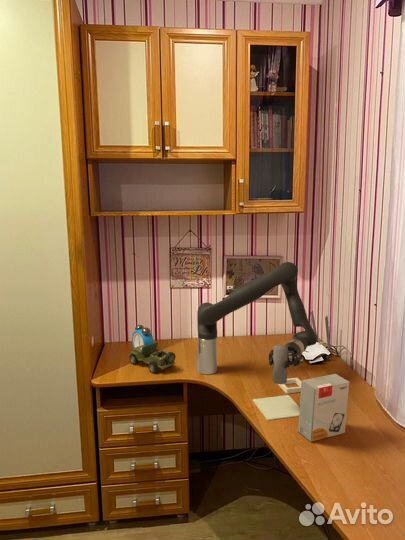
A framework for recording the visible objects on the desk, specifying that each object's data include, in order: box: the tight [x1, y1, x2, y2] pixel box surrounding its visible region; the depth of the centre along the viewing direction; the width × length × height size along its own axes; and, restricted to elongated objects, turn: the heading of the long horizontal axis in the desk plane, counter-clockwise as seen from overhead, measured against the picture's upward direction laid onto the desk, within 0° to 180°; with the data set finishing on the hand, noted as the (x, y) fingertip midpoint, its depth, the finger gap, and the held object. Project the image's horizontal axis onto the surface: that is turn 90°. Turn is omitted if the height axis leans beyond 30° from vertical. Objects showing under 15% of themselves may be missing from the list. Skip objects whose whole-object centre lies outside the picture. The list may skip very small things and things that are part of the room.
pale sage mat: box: [252, 394, 300, 421], centre depth 168 cm, size 16×16×1 cm
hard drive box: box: [298, 373, 350, 443], centre depth 149 cm, size 16×8×20 cm, turn 114°
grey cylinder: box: [272, 344, 288, 385], centre depth 165 cm, size 6×6×14 cm
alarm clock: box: [131, 324, 155, 349], centre depth 224 cm, size 13×6×15 cm, turn 40°
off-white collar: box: [277, 377, 302, 395], centre depth 185 cm, size 10×10×2 cm
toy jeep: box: [128, 341, 176, 374], centre depth 208 cm, size 12×25×11 cm, turn 46°
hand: (277, 364), depth 162 cm, fingers closed on grey cylinder, 5 cm apart
